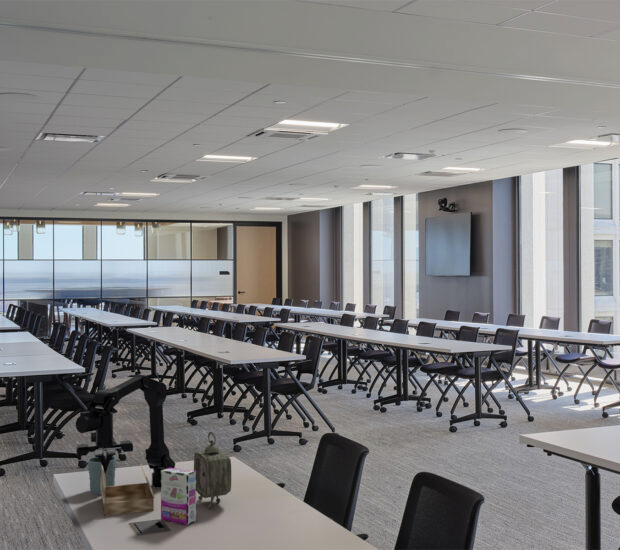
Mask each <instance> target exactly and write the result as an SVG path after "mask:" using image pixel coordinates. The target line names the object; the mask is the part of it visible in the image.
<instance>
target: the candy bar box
mask: <svg viewBox="0 0 620 550" xmlns="http://www.w3.org/2000/svg"><path fill="white" fill-rule="evenodd" d="M160 520H161V521H163V522H168V523H174V524H179V525H185V526H189V525H192V524H194V523H196V522H197V491H196V471H194V470H190V469H184V468H183V469H182V468H177V467H175V468H167V469H164V470H162V471H161V487H160Z"/></svg>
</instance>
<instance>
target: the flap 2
mask: <svg viewBox="0 0 620 550" xmlns="http://www.w3.org/2000/svg"><path fill="white" fill-rule="evenodd" d="M139 465H140V467H141V471H142V472H143V475H144V478H145V481H146V483H148V486H149V488H150V491H151V493H152V496H153V498H154V499H155V498H156V497H155V495H154V492H153V489H152V486H151V484H150V481H149V479H148V476H147V473H146V471H145V469H144V466H143V464H142V462H139Z"/></svg>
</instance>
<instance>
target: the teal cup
mask: <svg viewBox="0 0 620 550" xmlns="http://www.w3.org/2000/svg"><path fill="white" fill-rule="evenodd" d="M105 456H106V454H104V458H105ZM116 462H117V458H116V456H115V455H113V456H112V458H111V460H110V462H109V465H108V468H107V471H106V473H105V476H106V486H116V484H115V483H116V481H115V479H116V465H117V463H116ZM101 466H102V463H101V461H100V459H99V457H95V456H93V457H90V458H88V459H87V469H88V474H89V489H90V493H91V494H93V495H102V494H101V488H100V484H101Z"/></svg>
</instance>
